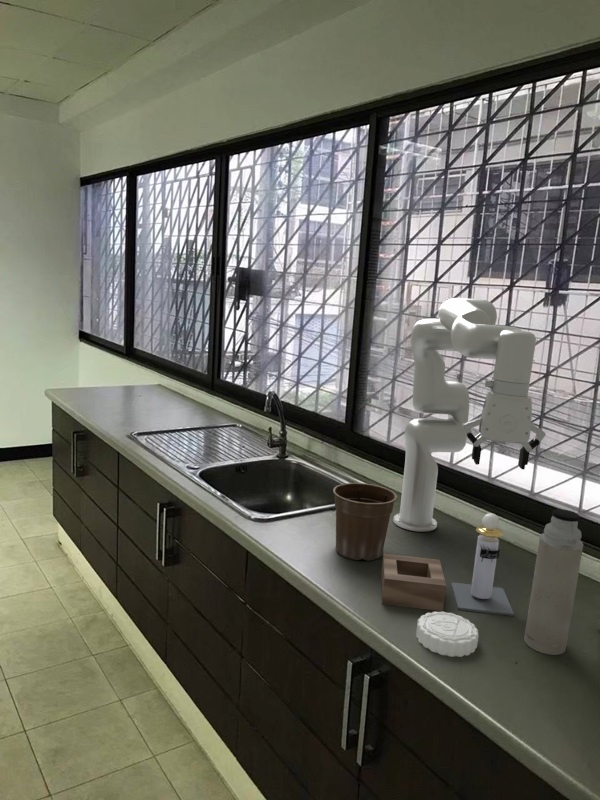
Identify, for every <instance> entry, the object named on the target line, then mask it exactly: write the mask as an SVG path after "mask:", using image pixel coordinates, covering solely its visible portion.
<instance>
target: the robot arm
mask: <svg viewBox="0 0 600 800" xmlns="http://www.w3.org/2000/svg"><path fill="white" fill-rule="evenodd" d="M437 313H438V318H423V319H420V320H418V321H417V322H416V323H415V324H414V325H413V326H412V331H411V334H410V335H411V336H410V346H411V350H412V355H413V360H414V372H413V385H412V387H413V388H412V405H413V408H414V410H415V411H416V412H417V413H421V414H427V415H428V414H429V415H447V417H448V418H430V417H429V418H427V417H425V418H424V417H422V418H420V417H419V418H414V419H412V420H410V421H409V422H408V423H407V424H406V426H405V429H404V440H405V441H404V443H405V445H404V446H405V459H404V460H405V461H404V470H403V477H402V478H403V481H402V488H401V497H400V507H399V513H397V514H395V515H394V516H393V522H394V524H395V525H396V526H397V527H399V528H401V529H404V530H409V531H413V532H421V533H423V532H424V533H425V532H432V531H433V530H435V529H437V527H438V522H437V520H436V519H435V518H433V516H434V506H435V500H436V499H435V498H436V489H437V481H438V474H439V467H438V464H437V461H436V460H435V458H434V457H433V456H432V453H459V452H461V451H463V450H464V448H465V446H466V444H467V438H468V439H469V441H470V442H471V443H472V451H471V460H473V462H474V464H475V465H477V466H478V465H480V460H481V454H482V446H481V445H482V444H483V443H484V442H485V441H486V440H487V441H490V442H501V443H508V444H509V443H510V444H518V445H519V444H521V446H522V447H521V448H520V449H519V456H518V457H519V458H518V463H517V465H518V467H519V468H520V469H521V470H525V468H526V466H528V464H529V459H530V453H531V452H532V451H533V449H535V448H536V447H537V446H539V445H540V442H542V441H543V439H544V438H545V437H546V435H547V434H546V432H545V431H543V430H542V429H540V427H537V426H536V425H534V424H533V423H532V418H533V416H532V415H533V414H532V413H533V407H532V406H533V403H532V397H530V396H529V389H530V381H531V377H532V376H531V375H532V370H533V369H532V368H533V363H534V362H533V361H534V357H535V356H534V355H535V351H536V350H535V349H536V343H537V337H536V335H535V334H534V333H532V332H531V331H526V330H522V329H521V328H519V327H517V326H516V327H515V326H509V325H499V324H497V325H496V323H497V318H498V315H497V314H498V313H497V309H496V307H495V305H494V304H493V303H492V302H491V301H489V300H485V299H478V298H466V297H464V298H463V297H454V298H453V297H452V298H449V299H447V300H446V301H444V302H443V303H442V304H441V305H440V307H439V309H438V312H437ZM439 351H447V352H457V353H459V354H460V355H462V356H464V357H466V358H470V359H480V360H481V359H483V360H494V361H495V362H494V367H493V368H494V369H493V374H492V375H493V376H492V378H491V380H486V381H485V382H484V387H485V388H488V389H490V390H491V391H488V392H487V394H486V396H485V400H484V402H483V405H482V406H483V407H482V411H481V414H480V417H478V418H475V419H472V420H469V415H470V414H469V413H470V394H469V389H468V388H467V386H466V385H465V384H464V383H462V382H459V381H451V380H450V381H449V380H448V381H447V380H445V373H446V364H445V361H444V359H443V358H442V355H441V354H440V353H439ZM475 427H478V433H477V435H475V434H473V432H472V429H473V428H475ZM531 432H533V433H535V437H534V438H532V439H531V440H530V437H531V436H530V435H531Z"/></svg>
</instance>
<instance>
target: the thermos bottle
mask: <svg viewBox="0 0 600 800" xmlns="http://www.w3.org/2000/svg"><path fill="white" fill-rule="evenodd" d="M551 514H552V516H551V519H550V522H549V523H546V524H545V527H544V529H543V533H540V535H539V539H538V547H537V552H536V559H535V565H534V570H533V571H534V572H533V573H534V574H533V577H532V584H531V586H532V587H531V589H530V591H531V592H530V598H529V604H528V605H529V606H528V612H527V617H526V623H525V630H524V636H523V637H524V638H523V640H524V642H525V644H526V645H527V646H529V648H530V649H532V650H534V651H537V652H538V653H541V654H545V655H551V656H555V655H556V656H557V655H562V654H564V653H565V652H566V651H567V643H568V639H569V632H570V627H571V621H572V615H573V609H574V602H575V597H576V591H577V584H578V579H579V573H580V568H581V562H582V561H581V560H582V555H583V550H584V542H582V540H581V539H582V531H581V530H580V529H579V528H578V526H579V525H578V524H579V520H580V514H578V513H577V512H574V511H571V510H568V509H562V508H561V509H560V508H556V509H553V510H552V513H551Z"/></svg>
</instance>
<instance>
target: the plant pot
mask: <svg viewBox="0 0 600 800" xmlns="http://www.w3.org/2000/svg"><path fill="white" fill-rule="evenodd" d="M332 490H333V491H332V493H333V495H334V506H335V549H336V552H337V553H338V554H339V555H341V556H342V557H345V558H346V559H351V560H354V561H360V560H365V561H367V562H370V561H375V560H378V559H379V558H381V557H383V553H384V547H385V542H386V537H387V533H388V527H389V523H390V518H391V514H392V513H393V509H394V506H395V501H396V500H397V499H398V496H397V493H395V492H394V491H393V490H391V489H389V488H387V487H383V486H380V485H376V484H370V483H365V482H348V483H346V482H345V483H340V484H339V485H335V487H333V489H332Z"/></svg>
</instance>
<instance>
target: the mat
mask: <svg viewBox="0 0 600 800" xmlns="http://www.w3.org/2000/svg"><path fill="white" fill-rule="evenodd" d="M450 585H451V588H452V593H453V597H454V599H455V603H456V608H457V610H458V611H459V610H460V611H468V612H474V613H475V612H476V613H477V612H478V613H485V614H493V615H501V616H502V615H503V616H509V617H514V616H515V613H514V611H513V608H512V605H511V604H510V602H509V601H510V600H509V599H508V597H507V596H508V595H507V594H506V592H505V589H504V588H503V587H498V586H493V587H492V594H491V598H489V599H481V598H477V597H475V596H473V595H472V594H471V586H472V583H471V584H470V583H469V584H467V583H460V582H451V583H450Z"/></svg>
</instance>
